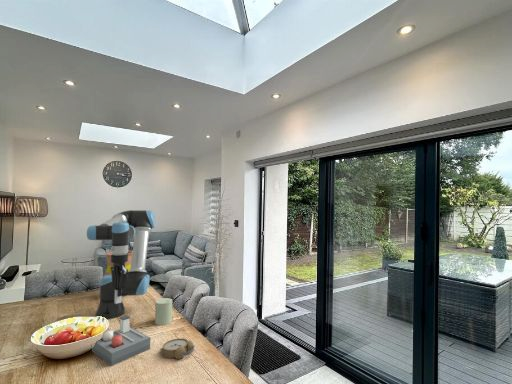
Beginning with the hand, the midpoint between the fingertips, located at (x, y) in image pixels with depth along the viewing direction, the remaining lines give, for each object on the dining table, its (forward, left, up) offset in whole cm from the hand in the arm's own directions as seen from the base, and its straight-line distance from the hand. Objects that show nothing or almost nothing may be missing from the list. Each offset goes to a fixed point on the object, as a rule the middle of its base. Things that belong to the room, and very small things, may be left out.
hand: (117, 302), depth 134 cm
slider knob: (+7, 0, -12) cm, 14 cm away
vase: (-66, +33, -17) cm, 76 cm away
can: (+1, +26, -17) cm, 31 cm away
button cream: (+8, -8, -13) cm, 17 cm away
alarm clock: (+34, +11, -18) cm, 40 cm away
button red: (+16, -8, -13) cm, 22 cm away
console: (+12, -4, -17) cm, 21 cm away
